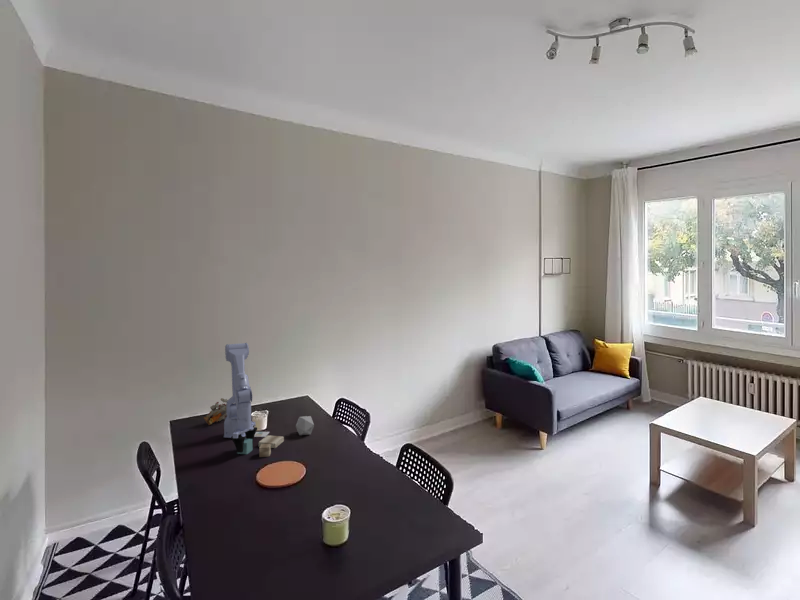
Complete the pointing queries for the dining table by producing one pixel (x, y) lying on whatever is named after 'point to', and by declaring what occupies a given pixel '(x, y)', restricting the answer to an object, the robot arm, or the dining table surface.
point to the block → (265, 450)
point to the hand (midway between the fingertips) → (244, 448)
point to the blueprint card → (261, 434)
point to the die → (305, 425)
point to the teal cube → (247, 446)
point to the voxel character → (216, 412)
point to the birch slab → (272, 440)
